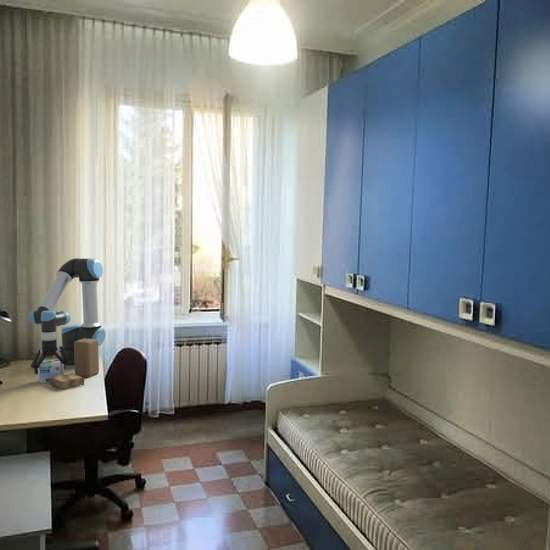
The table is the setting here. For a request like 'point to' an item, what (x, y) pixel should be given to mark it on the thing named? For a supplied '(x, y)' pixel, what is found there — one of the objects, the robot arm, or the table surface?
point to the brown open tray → (66, 381)
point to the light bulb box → (49, 370)
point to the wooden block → (86, 357)
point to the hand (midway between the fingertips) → (50, 377)
